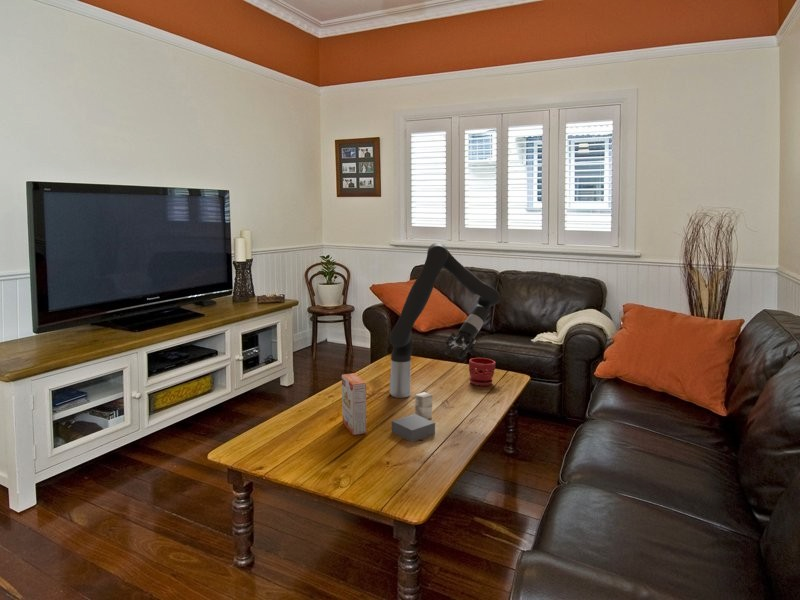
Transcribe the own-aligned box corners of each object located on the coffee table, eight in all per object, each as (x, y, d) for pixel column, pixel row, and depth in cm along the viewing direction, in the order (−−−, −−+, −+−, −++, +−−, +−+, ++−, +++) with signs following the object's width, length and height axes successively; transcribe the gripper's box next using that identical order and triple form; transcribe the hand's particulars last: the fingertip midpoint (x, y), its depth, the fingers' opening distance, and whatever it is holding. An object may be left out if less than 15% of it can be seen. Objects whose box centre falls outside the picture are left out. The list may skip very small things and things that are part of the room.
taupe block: (415, 416, 231) (415, 394, 230) (424, 414, 234) (424, 392, 233) (422, 420, 227) (423, 397, 226) (431, 417, 231) (432, 395, 229)
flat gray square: (391, 432, 215) (391, 420, 215) (414, 425, 223) (414, 413, 222) (411, 442, 206) (411, 430, 205) (434, 434, 214) (435, 422, 213)
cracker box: (341, 423, 224) (341, 374, 220) (355, 421, 226) (355, 372, 223) (352, 436, 211) (351, 384, 208) (366, 433, 213) (366, 382, 210)
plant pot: (488, 389, 268) (489, 365, 266) (464, 384, 275) (464, 361, 273) (498, 382, 279) (499, 359, 277) (475, 377, 286) (475, 355, 284)
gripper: (456, 319, 246) (436, 347, 240) (479, 324, 234) (459, 354, 229) (464, 329, 250) (445, 357, 244) (487, 334, 239) (468, 364, 233)
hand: (452, 355), depth 237 cm, fingers open, 8 cm apart
